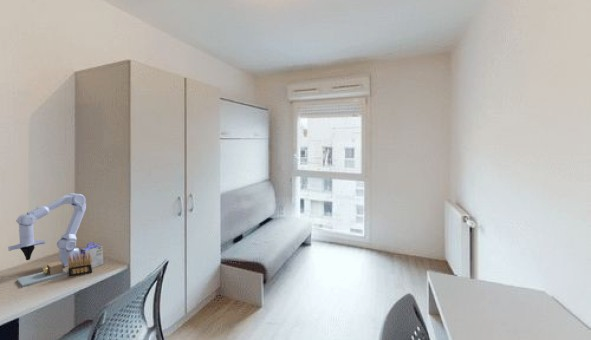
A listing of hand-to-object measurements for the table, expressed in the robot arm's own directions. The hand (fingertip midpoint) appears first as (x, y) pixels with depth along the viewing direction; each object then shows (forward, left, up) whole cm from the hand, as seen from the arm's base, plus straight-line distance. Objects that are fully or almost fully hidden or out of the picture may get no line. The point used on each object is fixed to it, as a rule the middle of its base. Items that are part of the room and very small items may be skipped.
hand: (28, 259), depth 152 cm
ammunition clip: (-18, +20, -10) cm, 29 cm away
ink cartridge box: (-26, +13, -10) cm, 31 cm away
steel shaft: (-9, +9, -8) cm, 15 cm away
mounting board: (-4, +9, -9) cm, 14 cm away
